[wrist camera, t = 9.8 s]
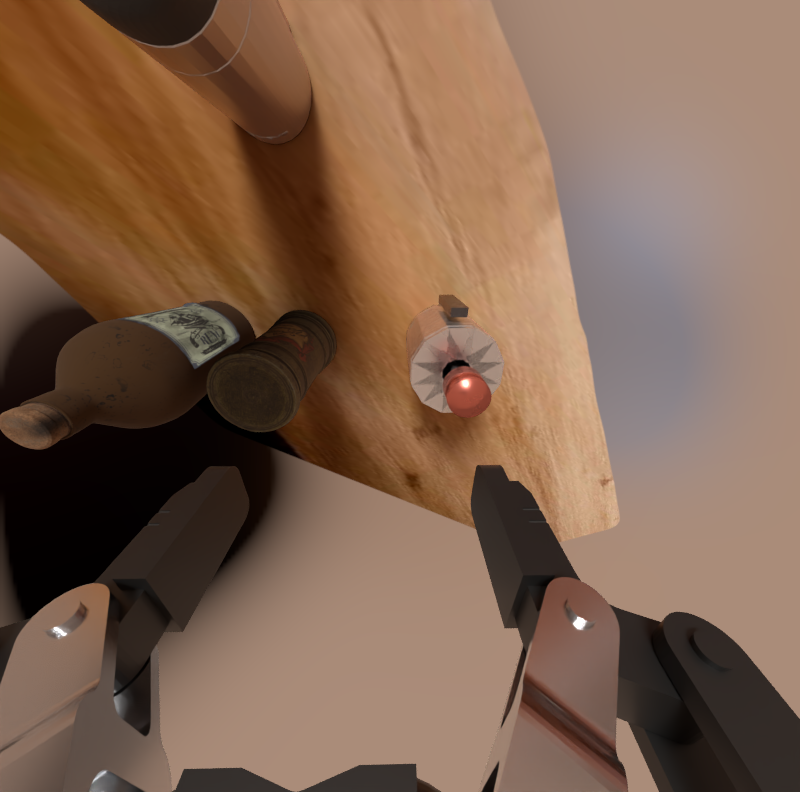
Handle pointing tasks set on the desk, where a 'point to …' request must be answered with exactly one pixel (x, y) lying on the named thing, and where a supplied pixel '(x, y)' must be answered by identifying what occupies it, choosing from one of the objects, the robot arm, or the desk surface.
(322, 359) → the container
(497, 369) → the press carafe
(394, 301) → the desk surface
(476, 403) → the plunger
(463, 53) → the desk surface
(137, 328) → the olive oil
